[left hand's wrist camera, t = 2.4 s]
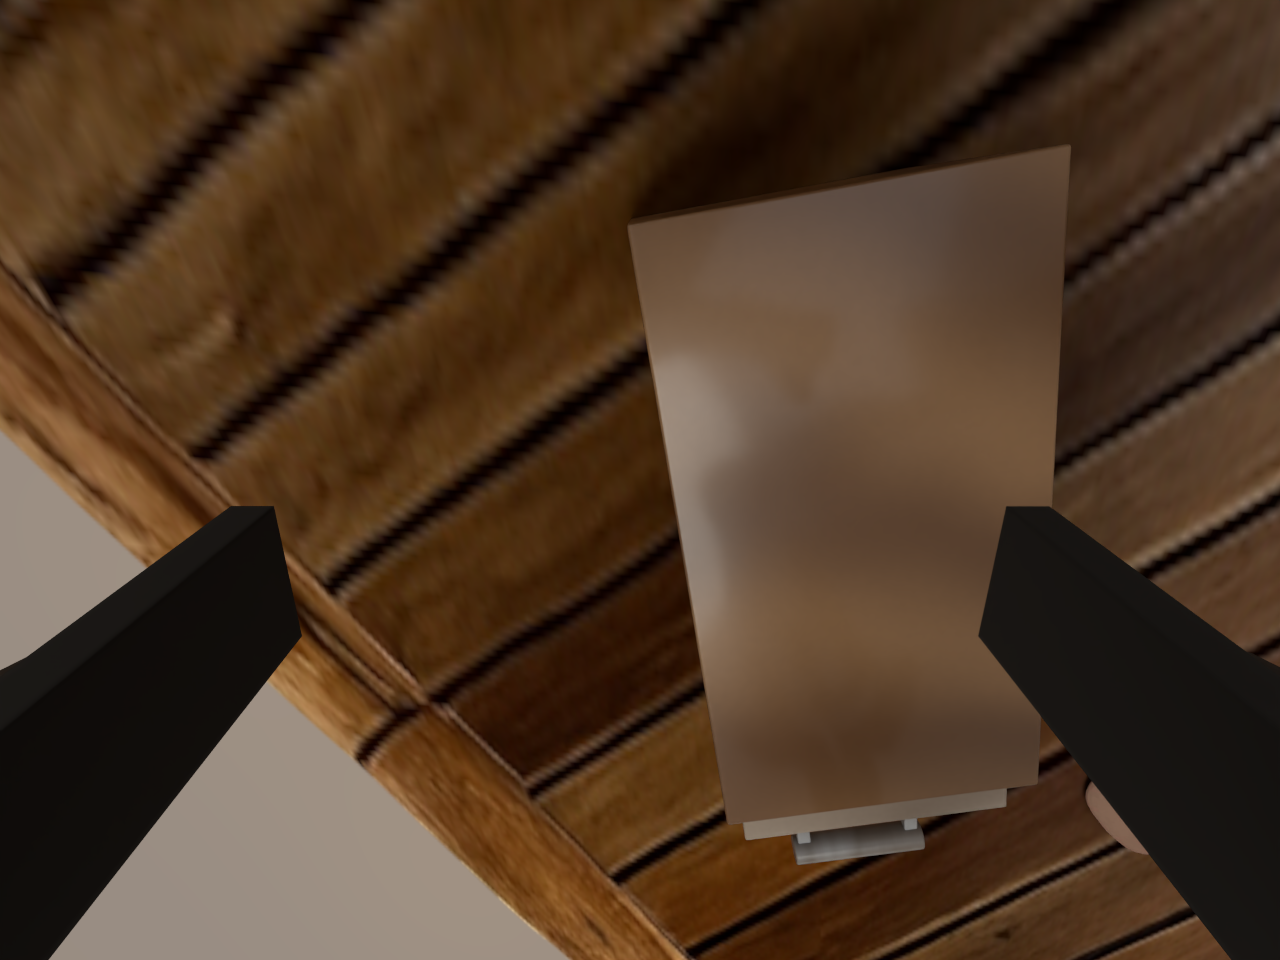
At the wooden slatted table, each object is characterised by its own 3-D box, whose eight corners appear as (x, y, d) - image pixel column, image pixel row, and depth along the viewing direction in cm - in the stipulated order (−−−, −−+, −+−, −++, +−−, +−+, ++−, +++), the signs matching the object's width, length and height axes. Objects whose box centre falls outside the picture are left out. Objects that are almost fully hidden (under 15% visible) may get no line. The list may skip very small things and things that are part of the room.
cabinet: (919, 613, 36) (1038, 785, 25) (701, 645, 37) (727, 826, 26) (907, 167, 28) (1073, 142, 18) (630, 218, 29) (626, 225, 18)
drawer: (918, 742, 38) (1003, 904, 29) (732, 768, 39) (760, 934, 30) (904, 259, 29) (1023, 282, 20) (658, 302, 29) (667, 343, 20)
